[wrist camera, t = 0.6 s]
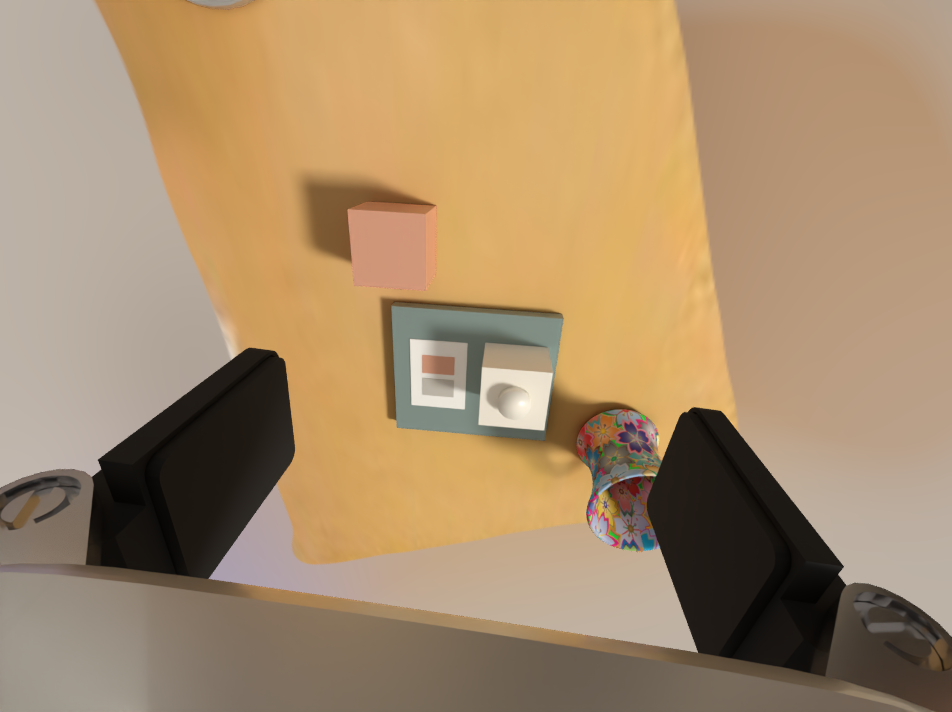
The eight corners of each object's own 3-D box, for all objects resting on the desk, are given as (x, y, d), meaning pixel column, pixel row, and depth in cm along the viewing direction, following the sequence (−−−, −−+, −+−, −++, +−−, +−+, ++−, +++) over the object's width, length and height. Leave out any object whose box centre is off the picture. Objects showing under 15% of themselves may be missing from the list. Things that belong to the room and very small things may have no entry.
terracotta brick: (372, 269, 39) (353, 285, 34) (367, 201, 36) (347, 209, 32) (436, 274, 39) (426, 290, 34) (436, 205, 36) (425, 214, 31)
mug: (567, 407, 44) (582, 479, 35) (659, 395, 43) (701, 467, 33) (578, 492, 49) (594, 574, 40) (661, 484, 48) (697, 568, 38)
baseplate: (399, 421, 46) (381, 465, 40) (394, 301, 40) (372, 331, 34) (543, 433, 46) (549, 480, 39) (562, 314, 39) (571, 346, 33)
